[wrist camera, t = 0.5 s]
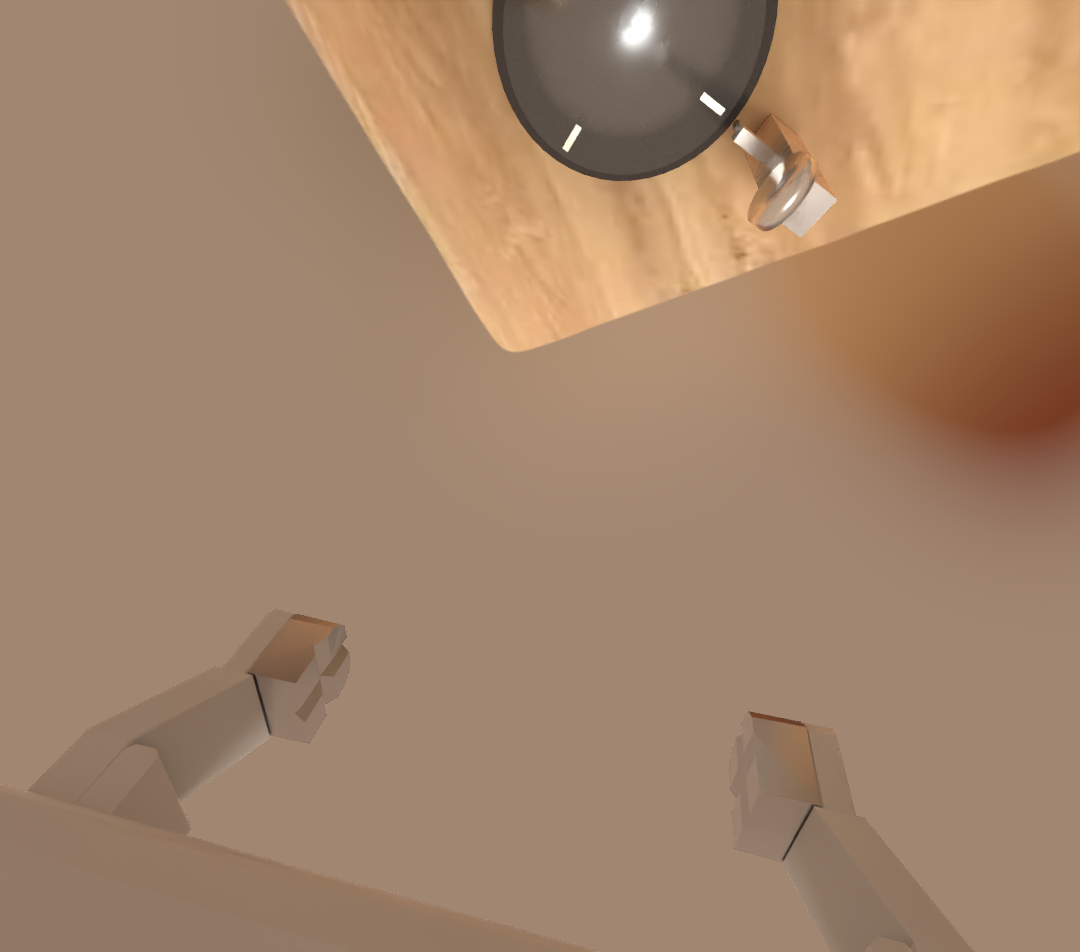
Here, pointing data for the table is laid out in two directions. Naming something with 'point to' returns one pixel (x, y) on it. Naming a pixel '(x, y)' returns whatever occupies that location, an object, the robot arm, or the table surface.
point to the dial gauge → (783, 178)
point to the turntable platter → (629, 74)
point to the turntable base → (759, 65)
